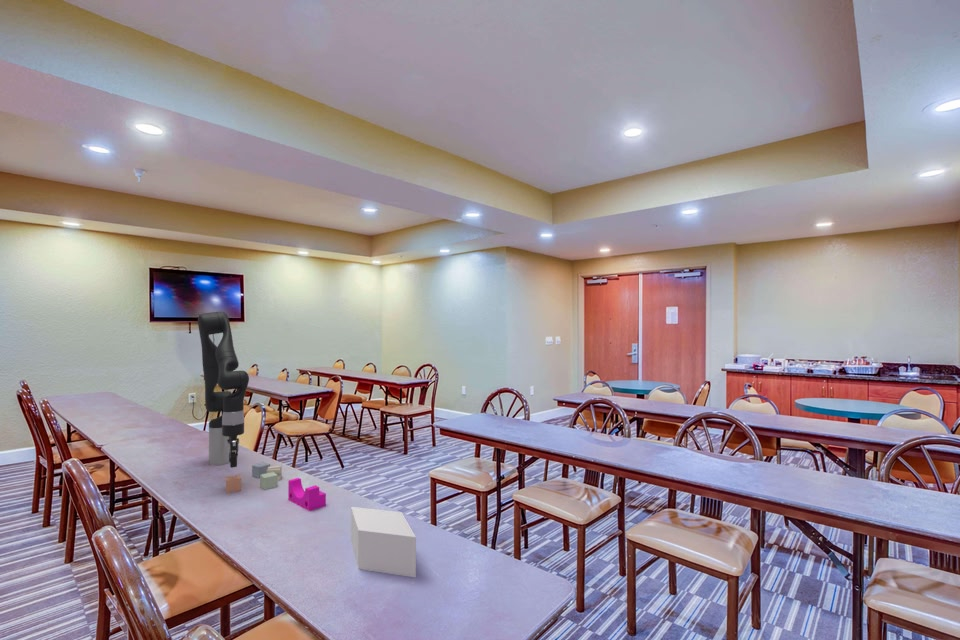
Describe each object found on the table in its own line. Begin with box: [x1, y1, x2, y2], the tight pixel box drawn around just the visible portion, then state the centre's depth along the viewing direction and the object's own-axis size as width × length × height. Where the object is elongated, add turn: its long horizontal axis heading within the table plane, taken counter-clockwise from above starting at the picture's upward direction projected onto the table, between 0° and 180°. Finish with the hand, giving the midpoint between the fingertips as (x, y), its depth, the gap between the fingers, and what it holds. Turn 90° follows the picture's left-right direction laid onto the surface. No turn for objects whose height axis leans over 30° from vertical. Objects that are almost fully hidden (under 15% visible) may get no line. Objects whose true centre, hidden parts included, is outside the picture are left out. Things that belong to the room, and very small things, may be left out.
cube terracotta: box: [225, 474, 242, 494], centre depth 170 cm, size 5×5×5 cm
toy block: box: [287, 477, 327, 512], centre depth 158 cm, size 15×6×8 cm, turn 50°
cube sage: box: [259, 472, 279, 491], centre depth 173 cm, size 5×5×5 cm
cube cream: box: [267, 465, 283, 482], centre depth 182 cm, size 5×5×5 cm
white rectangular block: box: [350, 506, 417, 578], centre depth 121 cm, size 14×29×10 cm, turn 50°
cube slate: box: [251, 461, 271, 479], centre depth 186 cm, size 5×5×5 cm
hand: (232, 464), depth 170 cm, fingers open, 8 cm apart
